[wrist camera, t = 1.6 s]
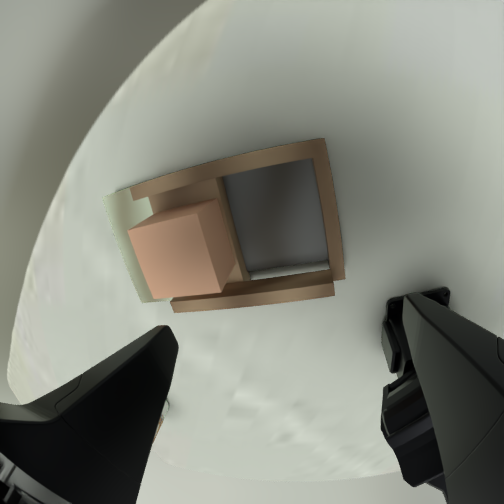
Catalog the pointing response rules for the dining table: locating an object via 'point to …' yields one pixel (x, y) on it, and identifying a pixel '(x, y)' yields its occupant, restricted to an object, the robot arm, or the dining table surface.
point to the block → (184, 250)
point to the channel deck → (248, 223)
